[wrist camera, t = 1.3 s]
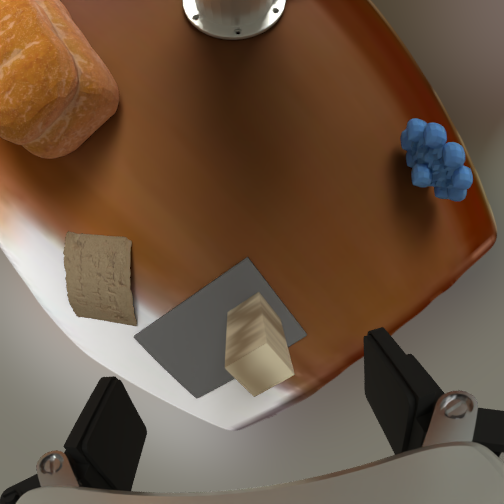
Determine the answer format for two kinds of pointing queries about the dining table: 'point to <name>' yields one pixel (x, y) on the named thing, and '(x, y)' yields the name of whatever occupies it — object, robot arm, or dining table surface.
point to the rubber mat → (209, 329)
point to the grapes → (435, 160)
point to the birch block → (256, 346)
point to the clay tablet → (99, 277)
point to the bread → (50, 79)
